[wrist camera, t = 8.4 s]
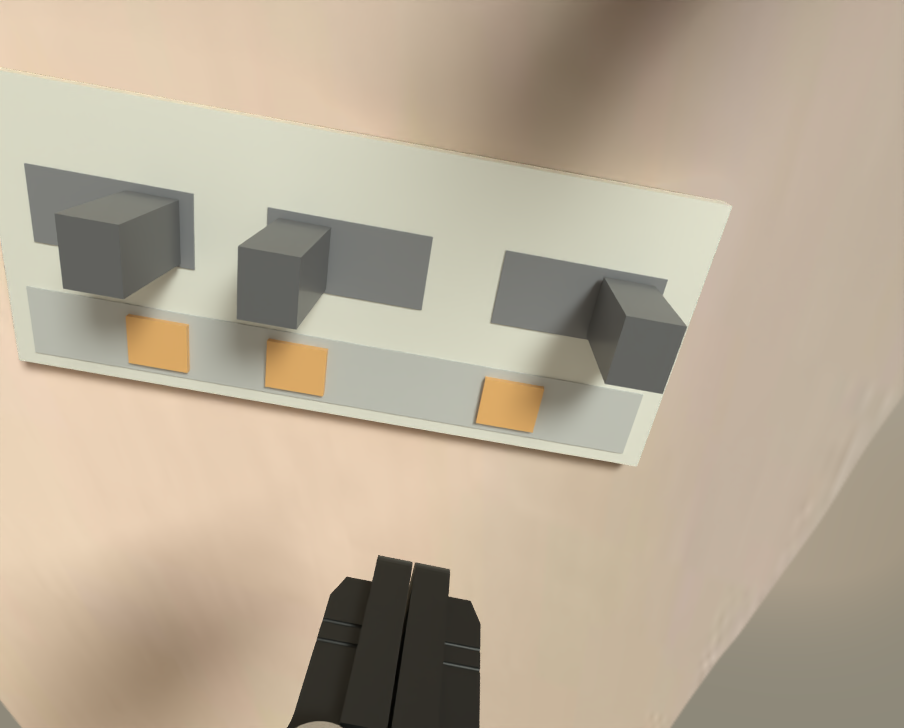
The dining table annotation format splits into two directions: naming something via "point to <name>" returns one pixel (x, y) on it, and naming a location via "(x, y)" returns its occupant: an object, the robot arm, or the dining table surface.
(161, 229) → the switch
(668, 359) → the switch
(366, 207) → the switch panel
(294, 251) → the middle switch
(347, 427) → the dining table surface
